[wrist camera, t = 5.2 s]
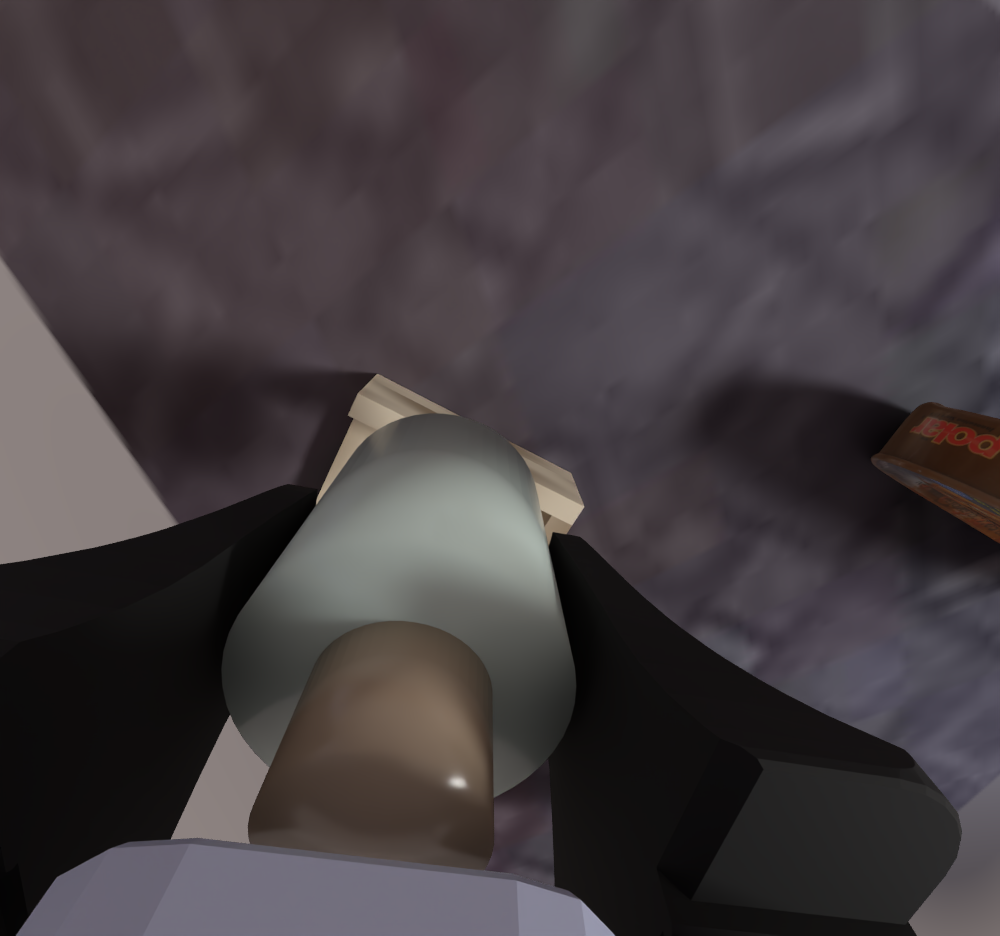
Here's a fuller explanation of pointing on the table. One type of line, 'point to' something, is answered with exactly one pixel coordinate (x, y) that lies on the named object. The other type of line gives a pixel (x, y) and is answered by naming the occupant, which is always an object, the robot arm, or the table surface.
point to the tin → (949, 463)
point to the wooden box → (395, 402)
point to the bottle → (404, 652)
